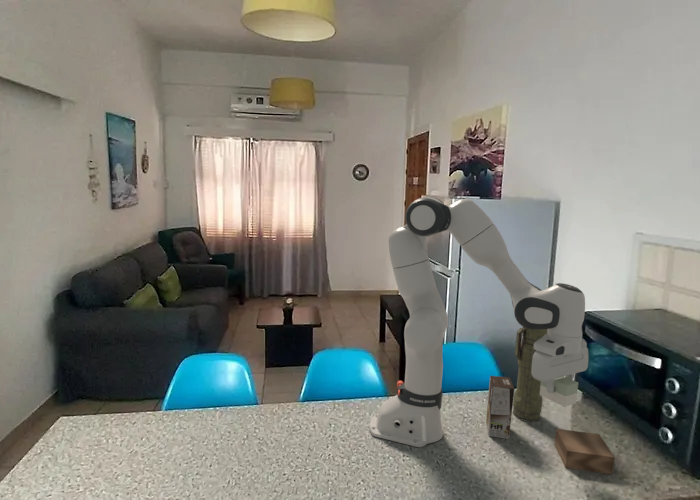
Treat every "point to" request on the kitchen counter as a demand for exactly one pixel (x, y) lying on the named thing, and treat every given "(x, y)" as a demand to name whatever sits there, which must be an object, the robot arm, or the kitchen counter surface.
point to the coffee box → (499, 406)
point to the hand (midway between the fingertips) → (558, 390)
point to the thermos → (527, 376)
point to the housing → (561, 391)
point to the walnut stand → (584, 451)
